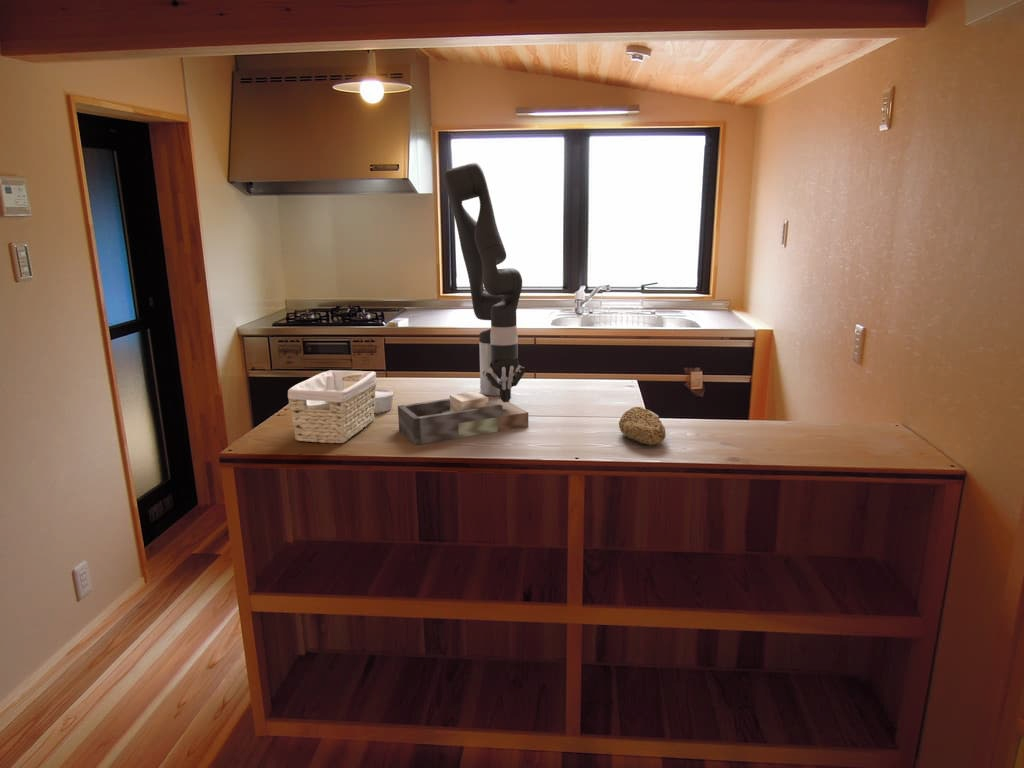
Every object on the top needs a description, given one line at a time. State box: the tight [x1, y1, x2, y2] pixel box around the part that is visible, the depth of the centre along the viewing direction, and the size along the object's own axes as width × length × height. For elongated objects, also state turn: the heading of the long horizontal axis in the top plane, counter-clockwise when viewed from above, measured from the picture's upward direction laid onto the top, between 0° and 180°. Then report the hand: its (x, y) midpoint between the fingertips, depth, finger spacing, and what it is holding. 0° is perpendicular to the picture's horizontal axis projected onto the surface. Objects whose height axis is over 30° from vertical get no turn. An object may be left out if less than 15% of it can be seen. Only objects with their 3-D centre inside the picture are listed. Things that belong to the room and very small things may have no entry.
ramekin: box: [374, 388, 395, 414], centre depth 209 cm, size 11×11×5 cm
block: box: [449, 390, 489, 412], centre depth 190 cm, size 8×8×5 cm
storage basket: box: [287, 369, 377, 444], centre depth 189 cm, size 24×16×15 cm
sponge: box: [618, 406, 667, 446], centre depth 181 cm, size 13×8×20 cm
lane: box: [397, 398, 529, 446], centre depth 190 cm, size 33×14×7 cm, turn 117°
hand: (505, 401), depth 195 cm, fingers closed
